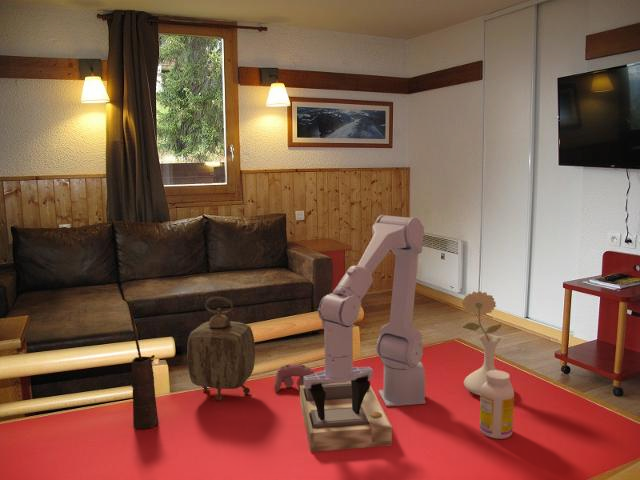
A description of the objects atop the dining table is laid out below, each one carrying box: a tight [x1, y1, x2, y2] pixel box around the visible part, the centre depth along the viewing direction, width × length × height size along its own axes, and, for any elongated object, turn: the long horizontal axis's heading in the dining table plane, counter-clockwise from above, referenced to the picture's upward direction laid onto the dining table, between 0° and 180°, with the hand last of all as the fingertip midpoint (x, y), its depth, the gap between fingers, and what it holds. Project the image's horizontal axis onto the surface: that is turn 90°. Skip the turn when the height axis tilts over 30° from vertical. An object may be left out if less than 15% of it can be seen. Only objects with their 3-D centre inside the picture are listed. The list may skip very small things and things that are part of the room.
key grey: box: [305, 381, 352, 401], centre depth 125 cm, size 11×6×4 cm, turn 98°
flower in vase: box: [461, 291, 513, 397], centre depth 132 cm, size 13×11×25 cm
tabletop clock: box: [186, 296, 256, 402], centre depth 130 cm, size 14×9×25 cm, turn 78°
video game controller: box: [274, 363, 315, 393], centre depth 136 cm, size 10×5×7 cm, turn 85°
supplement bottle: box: [479, 369, 515, 440], centre depth 114 cm, size 7×7×13 cm
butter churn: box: [127, 300, 159, 430], centre depth 118 cm, size 9×10×28 cm
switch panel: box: [299, 385, 393, 453], centre depth 119 cm, size 16×22×4 cm
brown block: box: [311, 407, 368, 429], centre depth 113 cm, size 11×6×4 cm, turn 98°
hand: (338, 415), depth 113 cm, fingers open, 7 cm apart
